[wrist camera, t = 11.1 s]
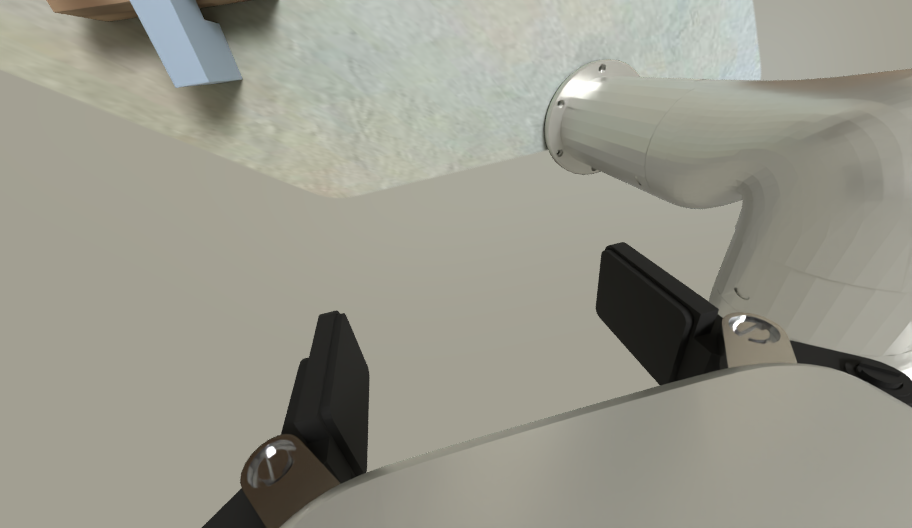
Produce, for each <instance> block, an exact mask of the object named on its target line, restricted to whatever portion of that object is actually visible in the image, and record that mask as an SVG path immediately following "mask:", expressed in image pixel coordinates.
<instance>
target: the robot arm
mask: <svg viewBox="0 0 912 528" xmlns="http://www.w3.org/2000/svg"><path fill="white" fill-rule="evenodd" d="M558 101H559V104H558ZM557 104H558V105H557ZM545 138H546V144H547V147H548V150H549V152H550V154H551V156H552V158H553V159H554V160H555V162H556V163H558V164H559V165H560V166H561V167H563V168H564V169H566V170H568V171H570V172H573V173H575V174H582V175H585V174H594V173H597V172H601V171H602V172H604V173H606V174H608V175H610V176H612V177H615V178H617V179H619V180H621V181H623V182H625V183H628V184H630V185H632V186H634V187H636V188H638V189H641V190H643V191H645V192H647V193H649V194H652V195H654V196H656V197H658V198H660V199H662V200H665V201H667V202H669V203H672V204H674V205H677V206H680V207H685V208H690V209H707V208H713V207H719V206H724V205H727V204H731V203H734V202H737V201H740V200H743V204H742V209H741V212H740V215H739V218H738V221H737V224H736V226H735V233H734V235H733V237H732V240H731V242H730V245H729V247H728V250H727V252H726V255H725V257H724V260H723V263H722V265H721V267H720V270H719V273H718V275H717V278H716V280H715V283H714V286H713V288H712V292H711V295H710V299H709V302H708V301H707V300H705V299H704V298H703V297H701V296H700V295H698V294H697V293H695V292H694V291H693V290H691V289H690V288H688V287H687V286H686V285H684V284H683V283H681V282H680V281H679V280H677V279H676V278H674V277H673V276H671V275H670V274H669V273H667V272H666V271H664V270H663V269H662V268H660V267H659V266H657V265H656V264H655V263H653V262H652V261H650V260H649V259H647V258H646V257H645V256H643V255H642V254H640V253H639V252H638V251H636V250H635V249H633V248H632V247H631V246H629V245H628V244H626V243H624V242H622V243H617V244H614V245H609V246H607V247H606V249H605V251H603V252H602V255H601V264H600V273H599V283H598V291H597V301H596V312H597V314H598V316H599V317H600V318H601V319H602V321H603V322H604V323H605V324H606V325H607V326H608V327H609V329H610V330H611V331H612V332H613V333H614V334H615V335H616V336H617V338H618V339H619V340H620V341H621V342H622V343H623V344H624V345H625V346H626V348H627V349H628V350H629V351H630V352H631V353H632V354H633V356H634V357H635V358H636V359H637V360H638V361H639V362H640V363H641V365H642V366H643V367H644V368H645V369H646V370H647V371H648V372H649V374H650V375H651V376H652V377H653V378H654V379H655V380H656V381H657V382H658V384H659V385H660V386H657V387H654V388H650V389H647V390H643V391H639V392H636V393H633V394H629V395H626V396H622V397H618V398H614V399H611V400H607V401H604V402H600V403H597V404H593V405H590V406H586V407H583V408H579V409H576V410H572V411H569V412H565V413H562V414H558V415H555V416H552V417H548V418H544V419H541V420H538V421H534V422H530V423H527V424H524V425H520V426H517V427H513V428H510V429H506V430H503V431H500V432H496V433H493V434H489V435H486V436H482V437H479V438H476V439H472V440H469V441H465V442H462V443H459V444H455V445H452V446H448V447H445V448H442V449H438V450H435V451H432V452H428V453H426V454H422V455H419V456H416V457H412V458H409V459H406V460H403V461H400V462H396V463H393V464H390V465H387V466H384V467H381V468H379V469H376V470H373V471H370V472H367V473H366V471H367V446H368V409H369V371H368V366H367V364H366V362H365V359H364V357H363V354H362V352H361V350H360V347H359V345H358V343H357V340H356V338H355V335H354V333H353V331H352V329H351V326H350V324H349V321H348V319H347V317H346V315H345V314H344V313H343V314H340V313H339V312H338V311H333V312H329V313H324V314H321V315H319V318H318V322H317V326H316V330H315V335H314V339H313V343H312V348H311V352H310V356H309V358H305V359H303V360H302V361H301V362H300V365H299V369H298V372H297V376H296V380H295V384H294V387H293V391H292V395H291V399H290V403H289V406H288V410H287V414H286V418H285V421H284V425H283V429H282V433H281V435H278V436H276V437H273V438H271V439H269V440H267V441H266V442H265V443H263V444H262V445H260V446H259V447H258V448H257V449H256V450H255V451H254V452H253V453H252V454H251V456H250V457H249V459H248V460H247V462H246V463H245V465H244V467H243V470H242V472H241V479H240V484H241V487H242V488H241V489H240V490H239V491H238V492H237V493H236V494H235V495H234V496H233V497H232V498H231V499H230V500H229V501H228V502H227V503H226V504H225V505H224V506H223V507H222V508H221V509H220V510H219V511H218V512H217V513H216V514H215V515H214V516H213V517H212V518H211V519H210V520H209V521H208V522H207V523H206V524H205V525H204V526H203V527H202V528H912V68H911V69H902V70H893V71H884V72H877V73H868V74H858V75H850V76H841V77H830V78H817V79H804V80H773V81H767V80H766V81H764V80H763V81H762V80H714V79H687V78H655V77H640V76H639V74H638V73H637V72H636V70H635V69H634V68H632V67H631V66H630V65H629V64H627V63H624V62H622V61H619V60H611V59H606V60H598V61H594V62H590V63H588V64H586V65H584V66H582V67H580V68H579V69H577V70H576V71H575V72H573V73H572V74H571V75H570V76H569V77H568V78H567V79H566V80H565V81H564V82H563V83H562V84H561V86H560V87H559V89H558V90H557V92H556V93H555V95H554V97H553V99H552V101H551V103H550V106H549V109H548V112H547V116H546V122H545ZM557 151H558V153H557Z"/></svg>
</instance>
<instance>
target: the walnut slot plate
mask: <svg viewBox="0 0 912 528" xmlns="http://www.w3.org/2000/svg"><path fill="white" fill-rule="evenodd" d="M244 1H251V0H196V2H197V4H198V7H199V8H204V7H210V6H217V5H224V4H231V3H238V2H244ZM47 2H48V3H49V5H50V7H51V8H52V10H53V11H54V12H55V13H61V14H67V15H73V16H79V17H84V18H90V19H96V20H102V21H108V22H109V21H116V20H123V19H129V18H136V17H138V15H137V13H136V11H135V9H134V8H133V6H132V4H131V2H130V0H47Z"/></svg>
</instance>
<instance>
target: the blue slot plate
mask: <svg viewBox="0 0 912 528" xmlns="http://www.w3.org/2000/svg"><path fill="white" fill-rule="evenodd" d="M130 2H131V4H132V6H133V8H134V9H135V11H136V13H137V15H138V17H139V19H140V21H141V23H142V25H143V27H144V28H145V30H146V32H147V34H148V36H149V38H150V40H151V42H152V44H153V46H154V47H155V49H156V51H157V53H158V55H159V57H160V59H161V61H162V63H163V65H164V66H165V68H166V70H167V72H168V74H169V76H170V78H171V80H172V82H173V84H174V85H175V87H176V88H177V87H187V86H197V85H207V84H217V83H223V82H229V81H235V80H241V79H242V76H241V74H240V72H239V69H238V67H237V64H236V62H235V60H234V57H233V55H232V53H231V50H230V48H229V46H228V43H227V41H226V39H225V36H224V34H223V32H222V29H221V27H220V24H218V23H214V22H211V21H207V20H204V18H203V16H202V13H201V11H200V9H199V7H198V4H197V2H196V0H130Z"/></svg>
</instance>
